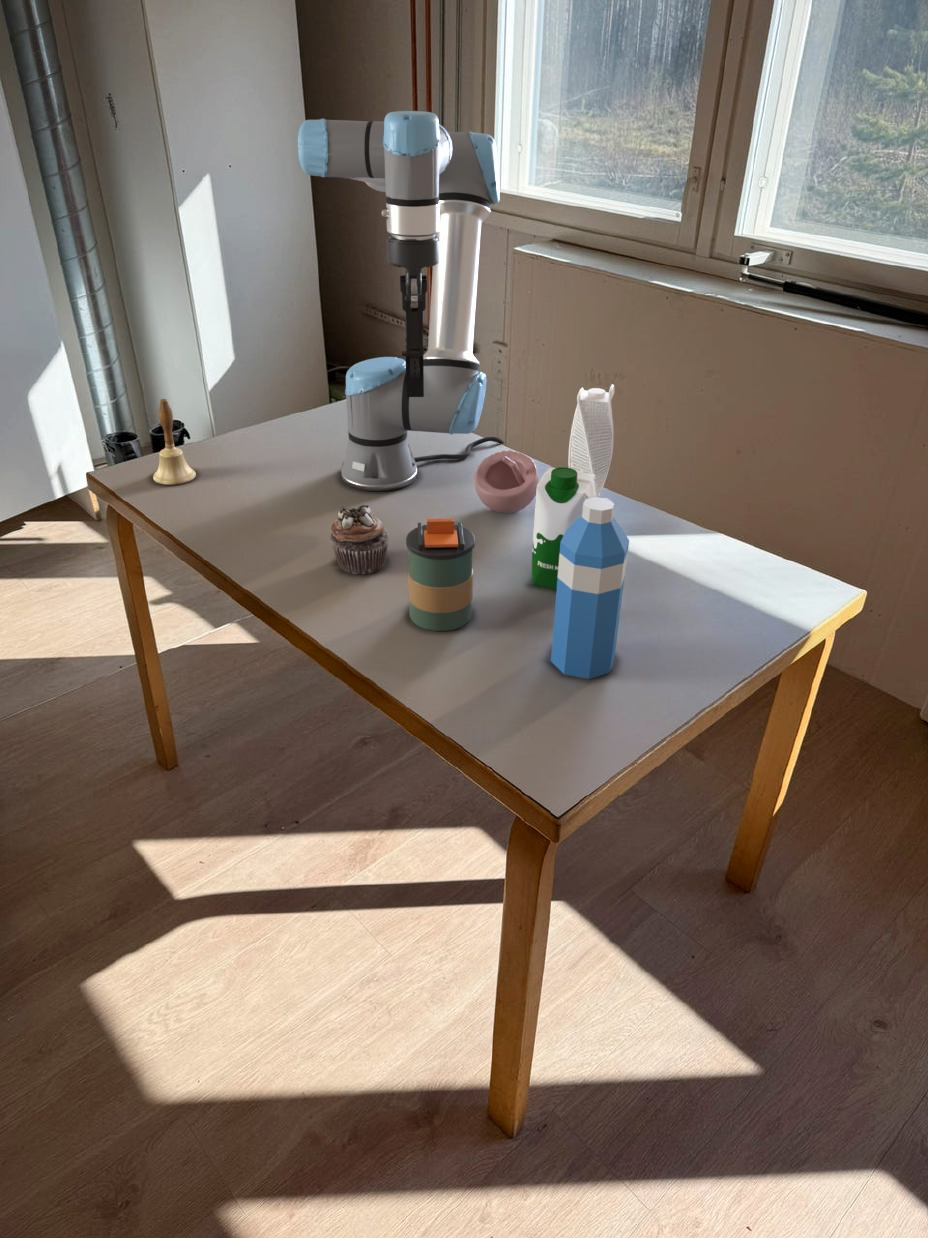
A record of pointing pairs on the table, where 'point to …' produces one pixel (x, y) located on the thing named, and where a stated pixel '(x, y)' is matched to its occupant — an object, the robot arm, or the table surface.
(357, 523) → the cupcake
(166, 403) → the hand bell
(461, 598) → the travel mug
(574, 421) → the skyscraper
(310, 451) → the table surface
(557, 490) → the milk carton
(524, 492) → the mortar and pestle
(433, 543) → the slider
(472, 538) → the mug lid
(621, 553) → the water bottle
